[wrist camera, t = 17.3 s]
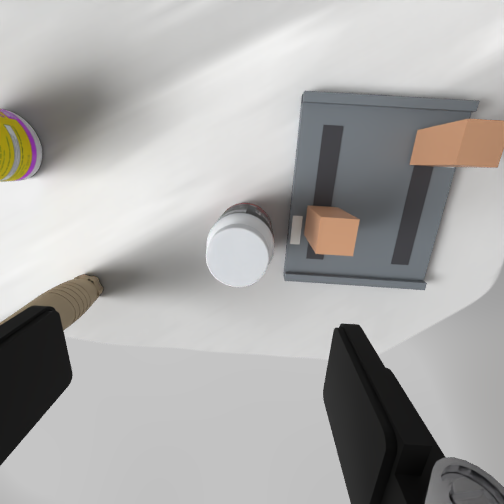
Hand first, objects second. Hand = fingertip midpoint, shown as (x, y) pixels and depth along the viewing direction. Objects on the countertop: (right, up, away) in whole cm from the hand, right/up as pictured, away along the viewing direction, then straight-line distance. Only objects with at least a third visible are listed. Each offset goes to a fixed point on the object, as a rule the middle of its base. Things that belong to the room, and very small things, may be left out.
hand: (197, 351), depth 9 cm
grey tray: (+13, +9, +18) cm, 24 cm away
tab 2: (+18, +13, +15) cm, 27 cm away
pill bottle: (+1, +6, +20) cm, 21 cm away
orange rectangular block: (+9, +6, +18) cm, 21 cm away
